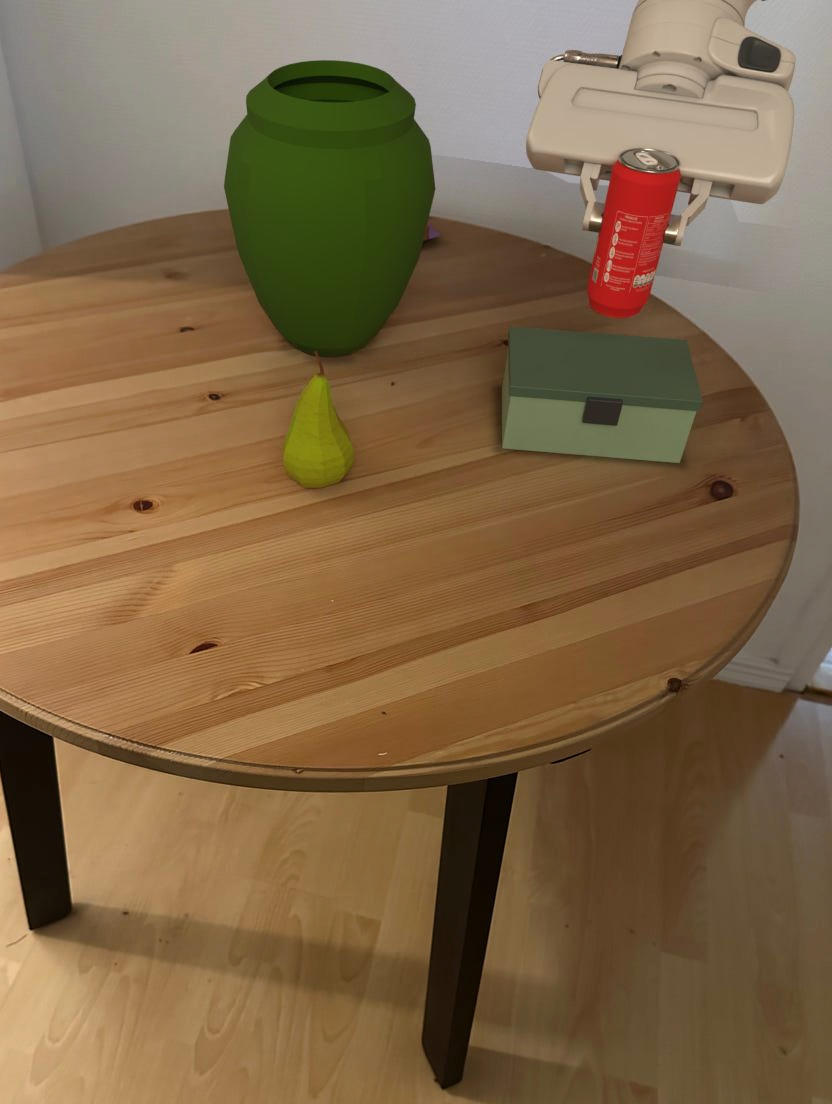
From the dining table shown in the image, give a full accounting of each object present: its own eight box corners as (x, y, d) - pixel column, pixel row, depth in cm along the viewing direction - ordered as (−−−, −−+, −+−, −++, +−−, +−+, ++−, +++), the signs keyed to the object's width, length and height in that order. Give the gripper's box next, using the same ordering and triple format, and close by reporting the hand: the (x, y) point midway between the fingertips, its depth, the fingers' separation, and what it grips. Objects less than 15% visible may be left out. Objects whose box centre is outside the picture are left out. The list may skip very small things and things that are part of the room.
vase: (437, 308, 107) (462, 59, 90) (399, 403, 94) (419, 133, 77) (266, 282, 110) (258, 36, 93) (206, 371, 97) (183, 104, 80)
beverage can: (600, 324, 82) (634, 175, 73) (574, 294, 85) (604, 149, 77) (656, 317, 83) (696, 170, 74) (628, 288, 86) (663, 144, 78)
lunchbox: (667, 398, 96) (686, 336, 91) (683, 468, 88) (704, 404, 84) (499, 385, 97) (509, 323, 92) (499, 453, 89) (510, 389, 84)
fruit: (319, 512, 83) (320, 387, 74) (266, 481, 85) (261, 357, 77) (368, 478, 86) (375, 355, 77) (316, 450, 89) (316, 327, 80)
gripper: (547, 23, 77) (502, 197, 78) (818, 57, 73) (769, 240, 74) (548, 69, 84) (507, 230, 84) (798, 103, 79) (753, 272, 80)
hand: (631, 235), depth 79 cm, fingers closed on beverage can, 5 cm apart
